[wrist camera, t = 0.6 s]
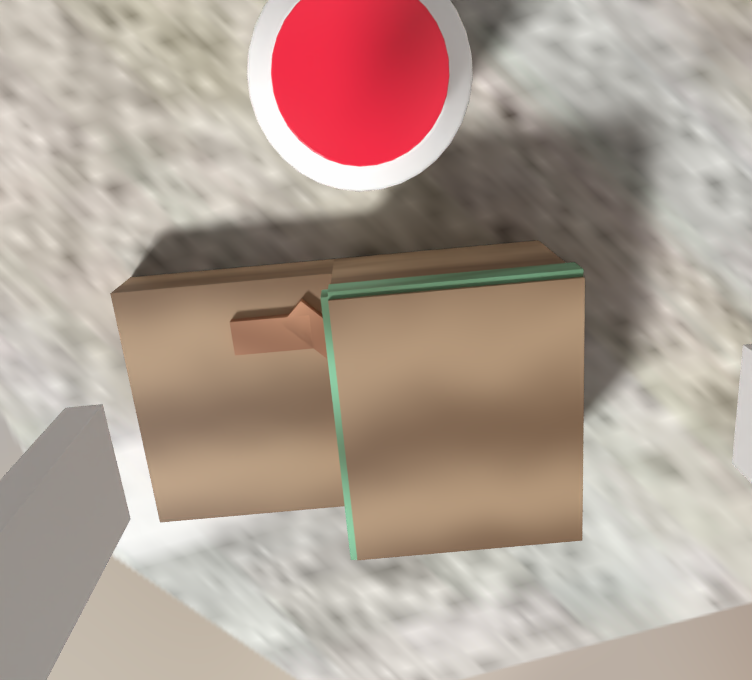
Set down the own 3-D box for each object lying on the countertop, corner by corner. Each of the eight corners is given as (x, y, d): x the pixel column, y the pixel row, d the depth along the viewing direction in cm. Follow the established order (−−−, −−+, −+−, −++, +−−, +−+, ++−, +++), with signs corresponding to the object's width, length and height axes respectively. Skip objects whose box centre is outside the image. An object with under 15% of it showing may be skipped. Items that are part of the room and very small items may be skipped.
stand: (129, 271, 35) (70, 316, 27) (538, 234, 34) (584, 270, 27) (175, 492, 39) (133, 581, 32) (540, 460, 39) (582, 542, 31)
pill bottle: (294, 183, 33) (266, 223, 23) (255, 5, 31) (204, -40, 21) (456, 151, 33) (501, 178, 23) (430, -30, 31) (467, -94, 20)
